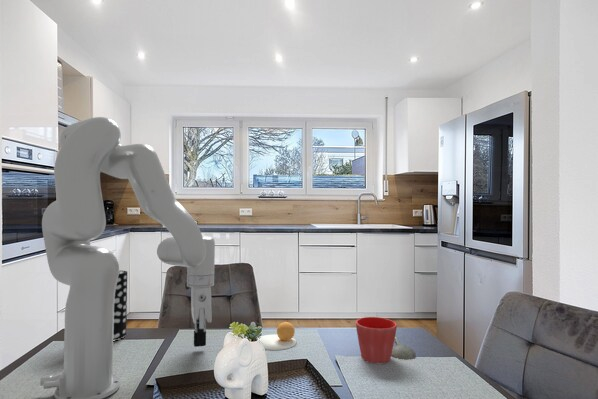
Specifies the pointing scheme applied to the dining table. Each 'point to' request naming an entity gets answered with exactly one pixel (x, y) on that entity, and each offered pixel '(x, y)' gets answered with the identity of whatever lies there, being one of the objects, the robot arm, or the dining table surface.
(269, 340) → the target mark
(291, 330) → the ball
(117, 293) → the white-spotted black cylinder
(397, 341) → the soupspoon
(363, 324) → the flower pot
